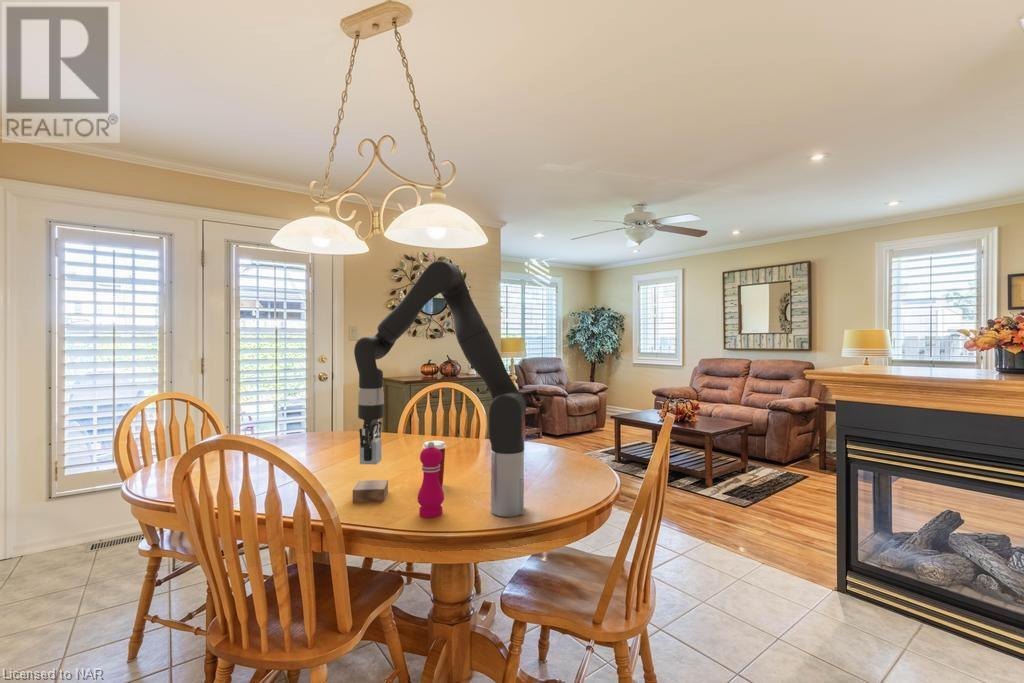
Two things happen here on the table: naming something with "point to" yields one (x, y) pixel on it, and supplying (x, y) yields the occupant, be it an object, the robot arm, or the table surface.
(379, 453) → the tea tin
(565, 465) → the table surface
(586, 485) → the table surface
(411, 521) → the table surface
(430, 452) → the pepper mill
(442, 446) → the paper cup
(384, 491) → the walnut block
